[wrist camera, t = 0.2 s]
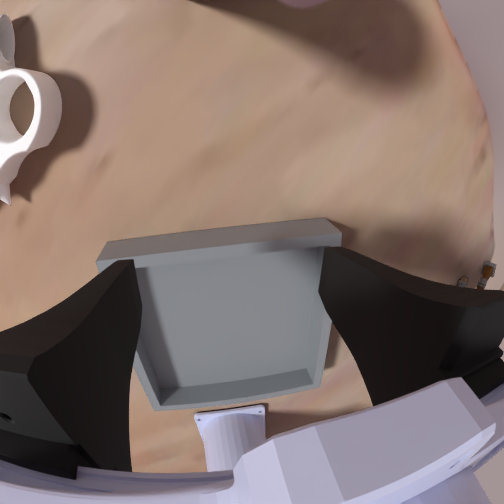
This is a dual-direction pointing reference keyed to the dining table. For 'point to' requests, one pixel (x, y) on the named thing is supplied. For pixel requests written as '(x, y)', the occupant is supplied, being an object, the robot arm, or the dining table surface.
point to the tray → (229, 311)
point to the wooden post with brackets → (487, 273)
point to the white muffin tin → (45, 115)
